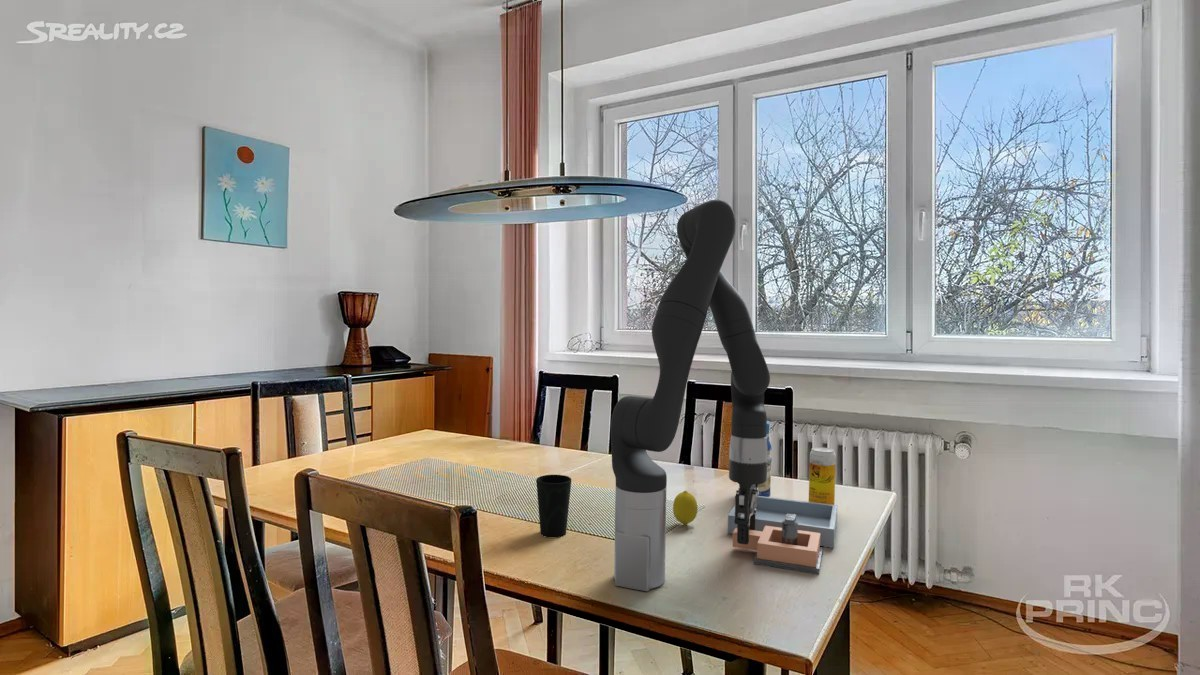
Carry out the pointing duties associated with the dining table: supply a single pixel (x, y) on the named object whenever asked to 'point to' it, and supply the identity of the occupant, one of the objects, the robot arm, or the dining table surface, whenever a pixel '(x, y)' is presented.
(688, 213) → the robot arm
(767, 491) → the beverage bottle
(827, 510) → the tray
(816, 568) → the stand
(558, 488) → the cup
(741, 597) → the dining table surface
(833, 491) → the beer can
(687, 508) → the lemon
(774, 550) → the tabbed ring
